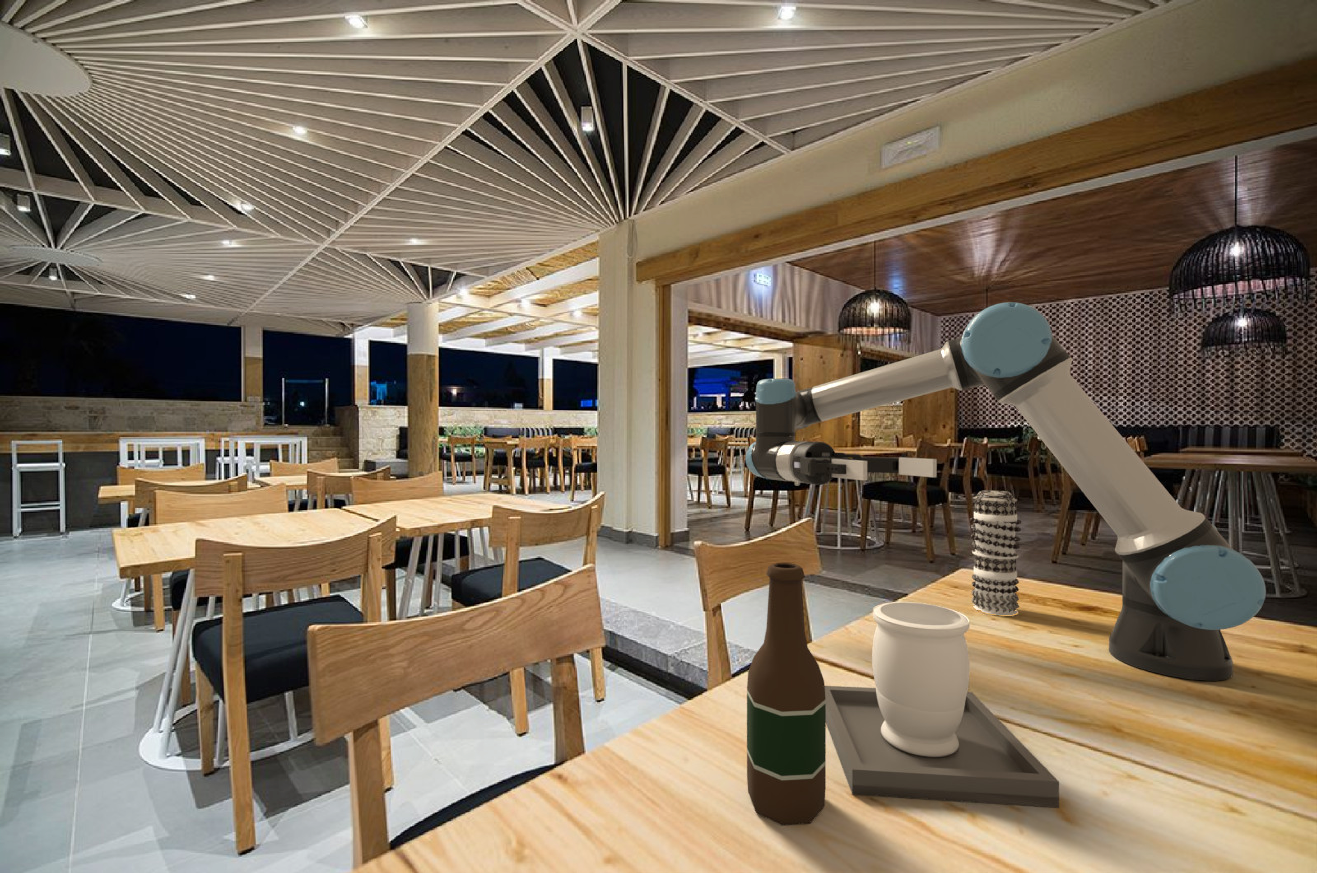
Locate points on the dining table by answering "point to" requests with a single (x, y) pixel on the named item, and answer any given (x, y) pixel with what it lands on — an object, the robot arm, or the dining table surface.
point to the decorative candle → (995, 553)
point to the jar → (920, 675)
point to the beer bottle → (786, 711)
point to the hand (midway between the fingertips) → (901, 469)
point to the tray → (972, 773)
